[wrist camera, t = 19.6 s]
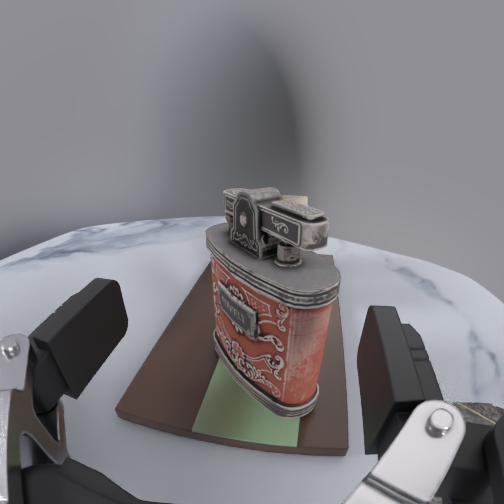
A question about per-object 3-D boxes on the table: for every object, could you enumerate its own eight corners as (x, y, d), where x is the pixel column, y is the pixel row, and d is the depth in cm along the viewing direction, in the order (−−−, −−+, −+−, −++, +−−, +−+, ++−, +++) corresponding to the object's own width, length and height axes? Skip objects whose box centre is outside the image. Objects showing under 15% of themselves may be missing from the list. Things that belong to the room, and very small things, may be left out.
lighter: (202, 341, 19) (188, 181, 15) (247, 324, 20) (246, 174, 16) (280, 430, 13) (299, 226, 9) (331, 398, 14) (369, 210, 10)
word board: (118, 417, 14) (75, 320, 11) (220, 253, 34) (217, 192, 31) (345, 456, 12) (386, 362, 9) (331, 261, 32) (338, 198, 29)
